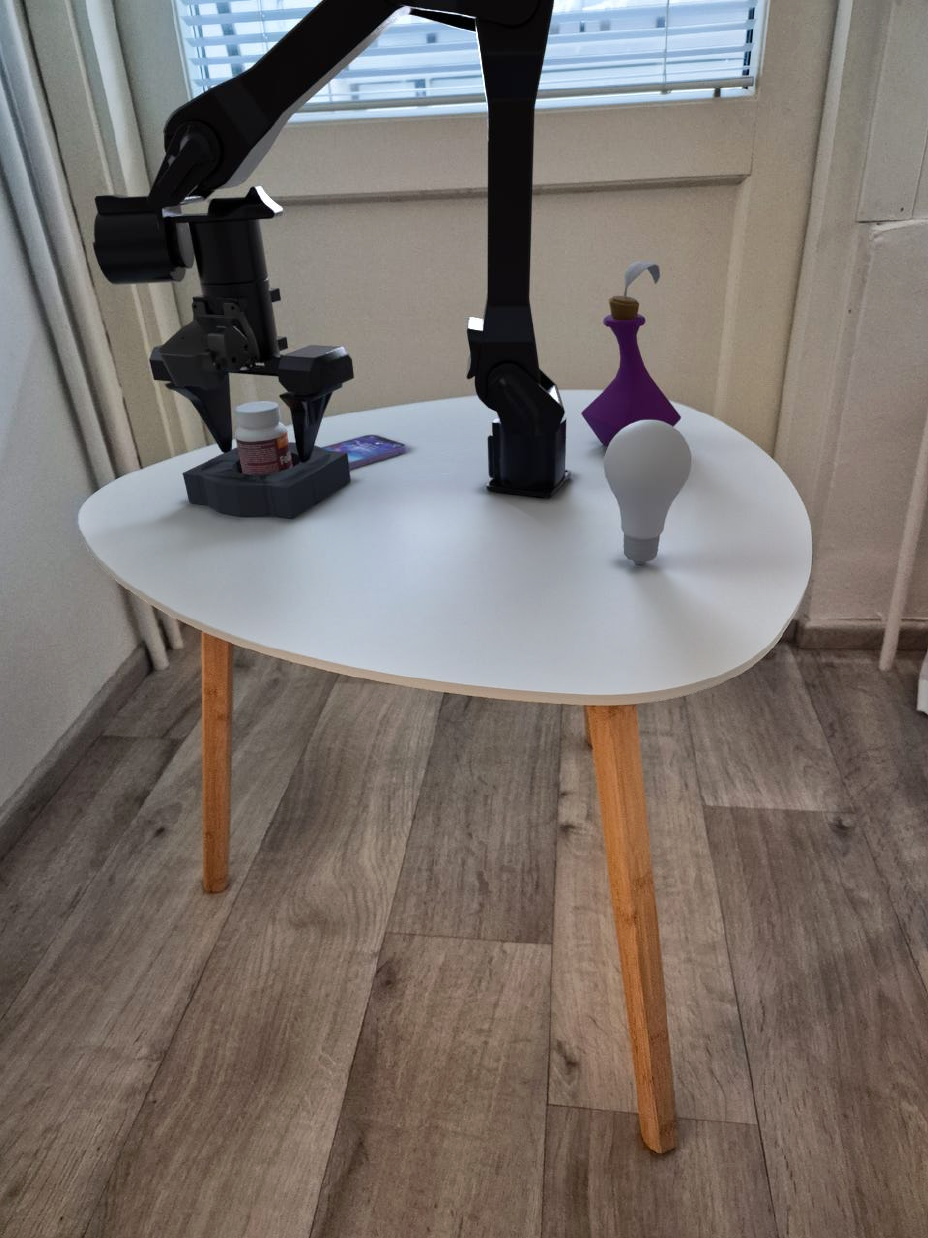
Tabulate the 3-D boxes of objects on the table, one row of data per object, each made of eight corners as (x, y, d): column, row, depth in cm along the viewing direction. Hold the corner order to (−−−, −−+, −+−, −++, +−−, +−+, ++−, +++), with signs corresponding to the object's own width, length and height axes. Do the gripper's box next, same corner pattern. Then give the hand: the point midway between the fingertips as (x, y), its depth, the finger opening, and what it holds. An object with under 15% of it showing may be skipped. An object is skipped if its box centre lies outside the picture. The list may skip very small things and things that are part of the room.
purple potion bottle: (621, 461, 80) (633, 269, 71) (579, 442, 86) (584, 262, 77) (679, 447, 83) (697, 261, 74) (634, 430, 89) (646, 255, 80)
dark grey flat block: (357, 477, 80) (354, 448, 78) (285, 524, 70) (280, 492, 69) (260, 465, 84) (255, 437, 83) (180, 506, 75) (173, 476, 73)
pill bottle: (297, 497, 76) (283, 410, 71) (246, 504, 75) (229, 416, 71) (295, 481, 80) (282, 397, 75) (247, 486, 79) (230, 402, 75)
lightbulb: (664, 588, 57) (678, 439, 52) (586, 570, 60) (591, 427, 55) (691, 555, 62) (707, 414, 56) (617, 540, 65) (625, 405, 59)
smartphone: (253, 465, 83) (371, 433, 91) (255, 474, 84) (372, 441, 92) (288, 481, 78) (410, 445, 86) (289, 490, 78) (410, 453, 87)
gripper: (80, 292, 65) (129, 473, 73) (264, 297, 58) (296, 498, 66) (175, 273, 74) (210, 437, 81) (346, 276, 66) (366, 456, 74)
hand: (265, 456), depth 76 cm, fingers open, 9 cm apart
